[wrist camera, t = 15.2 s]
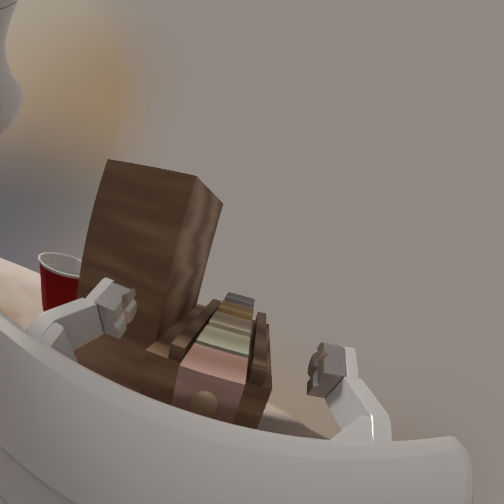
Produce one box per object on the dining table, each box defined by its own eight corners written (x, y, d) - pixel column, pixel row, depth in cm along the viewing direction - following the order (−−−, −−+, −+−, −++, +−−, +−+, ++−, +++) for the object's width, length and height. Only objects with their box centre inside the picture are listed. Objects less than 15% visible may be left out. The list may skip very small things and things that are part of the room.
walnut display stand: (227, 494, 17) (328, 204, 16) (66, 427, 18) (94, 152, 17) (240, 410, 33) (297, 224, 32) (127, 371, 34) (164, 190, 33)
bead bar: (228, 437, 10) (244, 390, 10) (166, 419, 11) (176, 369, 10) (247, 323, 30) (254, 299, 30) (222, 316, 30) (228, 292, 30)
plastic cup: (61, 349, 31) (66, 273, 30) (22, 320, 32) (26, 252, 31) (99, 332, 42) (108, 269, 41) (60, 310, 43) (67, 251, 42)
